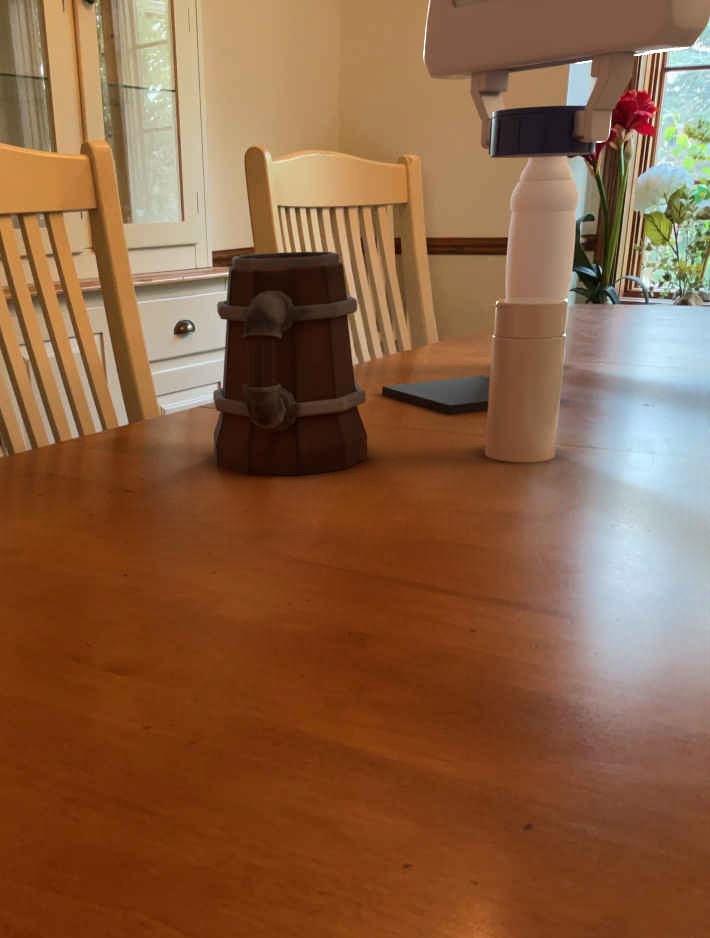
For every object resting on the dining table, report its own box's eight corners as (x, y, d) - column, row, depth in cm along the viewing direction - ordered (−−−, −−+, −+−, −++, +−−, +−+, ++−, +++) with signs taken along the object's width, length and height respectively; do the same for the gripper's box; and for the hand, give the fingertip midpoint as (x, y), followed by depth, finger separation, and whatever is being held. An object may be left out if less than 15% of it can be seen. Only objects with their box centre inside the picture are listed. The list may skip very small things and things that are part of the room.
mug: (232, 441, 88) (226, 251, 82) (376, 444, 85) (380, 248, 79) (178, 489, 74) (165, 265, 68) (347, 495, 71) (350, 262, 65)
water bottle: (495, 372, 116) (511, 122, 106) (503, 362, 122) (519, 125, 112) (561, 373, 114) (584, 118, 104) (565, 364, 120) (587, 122, 110)
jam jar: (522, 445, 83) (534, 295, 78) (569, 457, 79) (584, 300, 74) (470, 454, 81) (479, 300, 76) (516, 467, 76) (528, 305, 72)
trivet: (481, 385, 109) (482, 375, 108) (557, 403, 99) (558, 392, 98) (381, 396, 105) (382, 386, 104) (449, 416, 94) (450, 405, 94)
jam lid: (468, 157, 69) (471, 113, 68) (537, 157, 72) (541, 115, 71) (545, 152, 64) (549, 104, 63) (616, 152, 67) (621, 106, 66)
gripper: (406, -77, 69) (399, 153, 74) (675, -165, 53) (640, 136, 58) (476, -68, 72) (464, 152, 77) (750, -148, 56) (710, 137, 61)
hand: (542, 145), depth 68 cm, fingers closed on jam lid, 6 cm apart
